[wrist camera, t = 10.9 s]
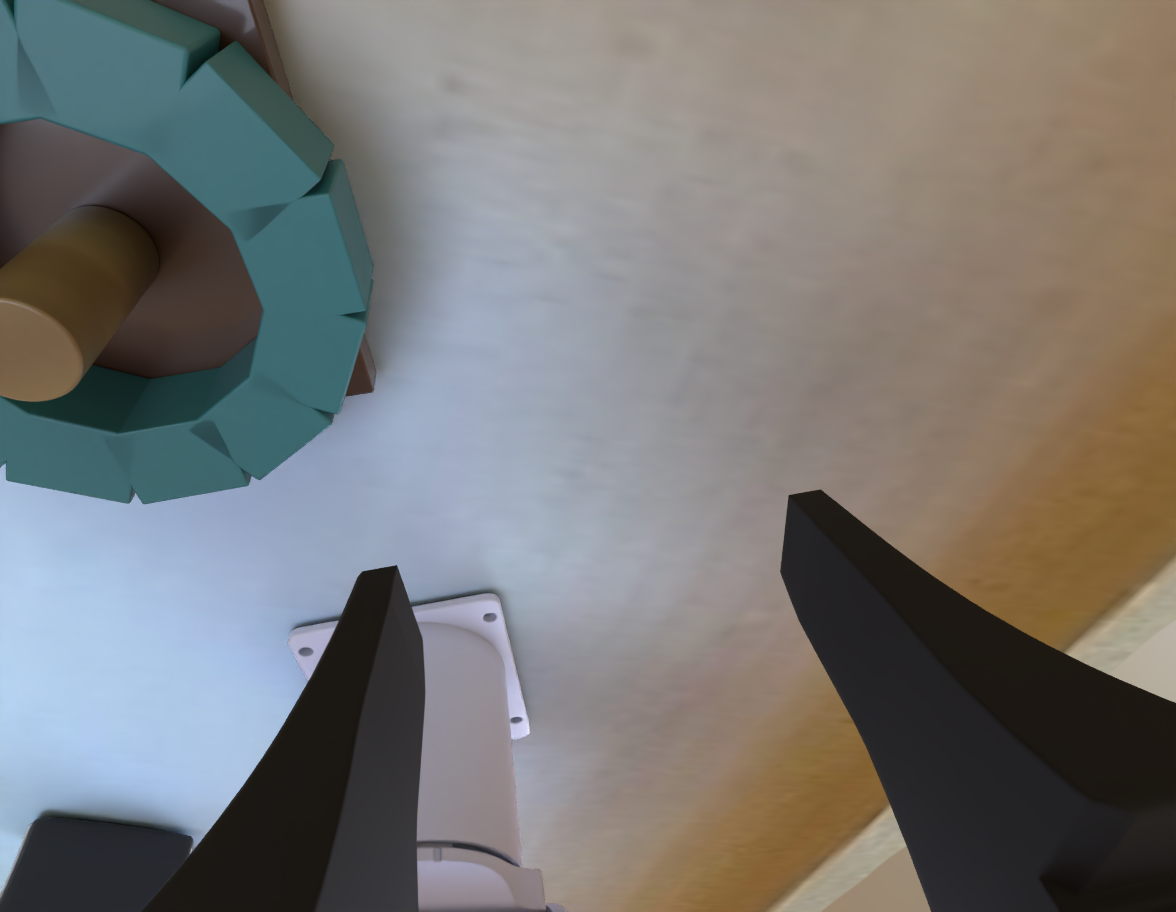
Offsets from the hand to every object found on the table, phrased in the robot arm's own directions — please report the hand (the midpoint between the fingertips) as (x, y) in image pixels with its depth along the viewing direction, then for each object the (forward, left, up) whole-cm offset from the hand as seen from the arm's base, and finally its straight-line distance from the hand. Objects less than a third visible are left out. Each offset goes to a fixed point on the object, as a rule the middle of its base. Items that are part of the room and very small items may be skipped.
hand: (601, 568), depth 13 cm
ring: (+4, +10, -9) cm, 14 cm away
